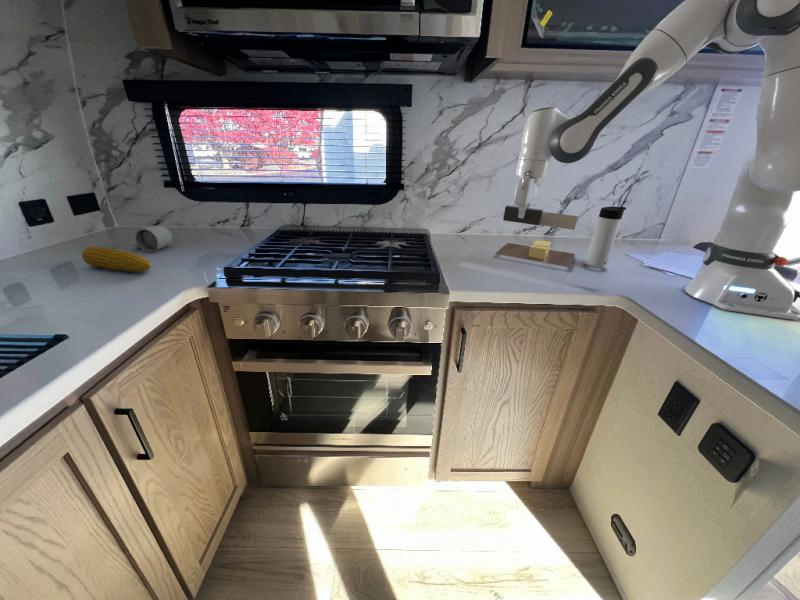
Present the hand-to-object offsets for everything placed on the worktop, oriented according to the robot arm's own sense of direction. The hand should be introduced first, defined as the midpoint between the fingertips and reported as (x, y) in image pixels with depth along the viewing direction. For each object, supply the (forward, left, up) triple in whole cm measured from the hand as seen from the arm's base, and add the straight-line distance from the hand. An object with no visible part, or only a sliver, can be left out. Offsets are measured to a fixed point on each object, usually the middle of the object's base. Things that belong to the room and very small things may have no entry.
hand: (522, 216), depth 105 cm
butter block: (-6, -13, -14) cm, 20 cm away
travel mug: (-24, -11, -16) cm, 31 cm away
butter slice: (-6, -7, -14) cm, 17 cm away
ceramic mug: (+107, +59, -16) cm, 123 cm away
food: (+94, +74, -16) cm, 121 cm away
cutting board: (-5, -10, -15) cm, 19 cm away
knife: (-5, 0, -2) cm, 5 cm away
